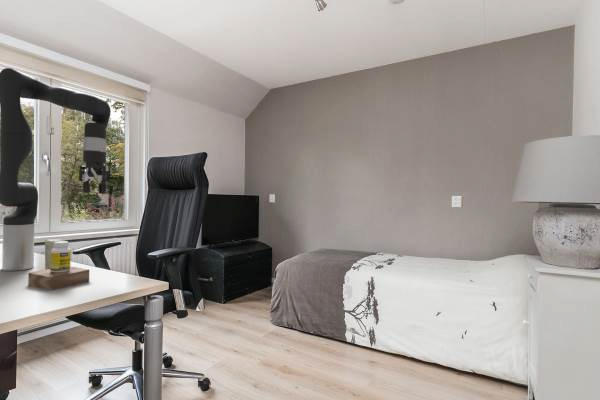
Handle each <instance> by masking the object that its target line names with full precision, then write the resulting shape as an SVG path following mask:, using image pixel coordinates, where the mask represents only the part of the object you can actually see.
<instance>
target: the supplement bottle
mask: <svg viewBox="0 0 600 400" xmlns="http://www.w3.org/2000/svg"><path fill="white" fill-rule="evenodd" d="M54 247H55V248H54V249H52V250H51V266H50V271H51V272H55V273H60V272H66V271H69V270H70V266H71V256H72V255H71V254H72V253H71V252H72V250H71V248H70V247H69V241H67V240H65V241H58V242H54Z"/></svg>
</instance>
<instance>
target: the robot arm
mask: <svg viewBox="0 0 600 400" xmlns="http://www.w3.org/2000/svg"><path fill="white" fill-rule="evenodd" d="M21 99H27V100H29V99H31V100H39V101H44V102H48V103H51V104H54V105H57V106H58V107H62V108H65V109H69V110H72V111H76V112H77V111H78V112H80V113H83V114H87V115H89V116H91V117H92V118H91V121H88V122H86V123H85V124H84V130H83V131H84V133H83V144H82V146H83V147H82V148H83V149H82V162H83V163H85V165H79V169H78V171H79V173H78V181H79V182H81V183H82V192H83V194H90V193H91V181H92V180H93V179H94V178H95V179H96V180H97V182H98V194H101V195H102V194H103V195H104V194H106V185H107V184H108V183H110V182H111V166H109V165H105V164H107V147H108V146H107V127H108V125H109V121H110V118H111V111H112V110H111V107H110V104H109V103H108V101H105V100H104V99H101V98H98V97H97V96H94V95H91V94H87V93H81V92H78V91H75V90H72V89H68V88H66V87H65V88H64V87H60V86H53V85H49V84H47V83H44V82H41V81H39V80H38V79H36V78H34V77H32V76H31V75H29V74H26V73H24V72H22V71H19V70H17V69H14V68H10V67H7V68H6V67H5V68H3V69H1V71H0V205H1V206H4V207H7V208H8V207H10V208H12V207H13V208H14V207H16V208H15V210H14V211H13V212H12V213H10V214H7V215H5V216H4V217H3V220H2V221H3V222H2V224H3V225H2V258H1V260H2V265H1V268H2V270H3V271H5V272H7V271H8V272H11V271H25V270H29V269H33V268H34V267H35V262H34V261H35V221H36V218H37V214H38V203H39V191H38V189H37V187H36V185H35V184H33V183H31V182H18V181H19V179H18V178H19V172H20V168H21V166H22V165H23V163H24V162H25V161H26V159H27V158H28V157H29V155H30V154H31V152H32V149H33V131H32V128H31V126H30V124H29V122H28V120H27V118H26V116H25V114H24V113H23V110H22V105H21Z"/></svg>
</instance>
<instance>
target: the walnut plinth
mask: <svg viewBox="0 0 600 400" xmlns="http://www.w3.org/2000/svg"><path fill="white" fill-rule="evenodd" d="M27 276H28V277H27V278H28V279H27V280H28V283H27V285H28V286H31V287H35V288H40V289H45V290H48V291H55V290H58V289H59V290H60V289H63V288H67V287H71V286H74V285H79V284H83V283H88V282H90V269H87V268H82V267H77V266H71V265H70V270H69V271H66V272H60V273H55V272H51V271H50V269H46V270H45V269H41V270H37V271H31V272H28V275H27Z"/></svg>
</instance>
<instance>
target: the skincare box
mask: <svg viewBox="0 0 600 400" xmlns="http://www.w3.org/2000/svg"><path fill="white" fill-rule="evenodd" d="M58 241H66V240H64V239H59V238H54V239H52V238H51V239H45V240H44V263H45V264H44V270H46V269H50V266H51V250H52V249H54V248H55V247H54V242H58Z"/></svg>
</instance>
